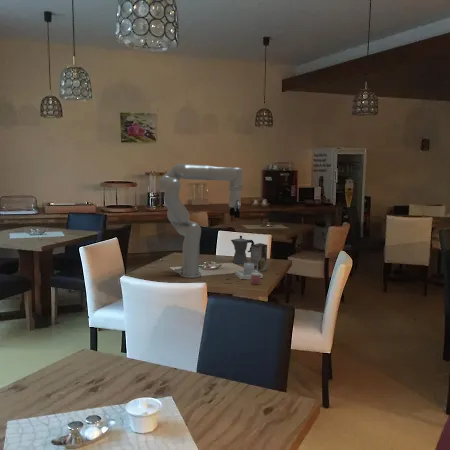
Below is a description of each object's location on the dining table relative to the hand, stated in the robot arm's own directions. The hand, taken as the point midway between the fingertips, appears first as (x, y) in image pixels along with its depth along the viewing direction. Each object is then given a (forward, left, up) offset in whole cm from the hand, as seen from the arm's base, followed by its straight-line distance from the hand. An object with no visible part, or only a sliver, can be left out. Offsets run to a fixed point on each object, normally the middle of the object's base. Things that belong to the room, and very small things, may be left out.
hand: (234, 216), depth 308 cm
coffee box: (+16, -2, -34) cm, 37 cm away
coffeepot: (+12, +19, -34) cm, 40 cm away
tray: (+5, -16, -33) cm, 37 cm away
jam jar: (+4, -31, -33) cm, 46 cm away
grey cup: (+5, -16, -32) cm, 36 cm away
